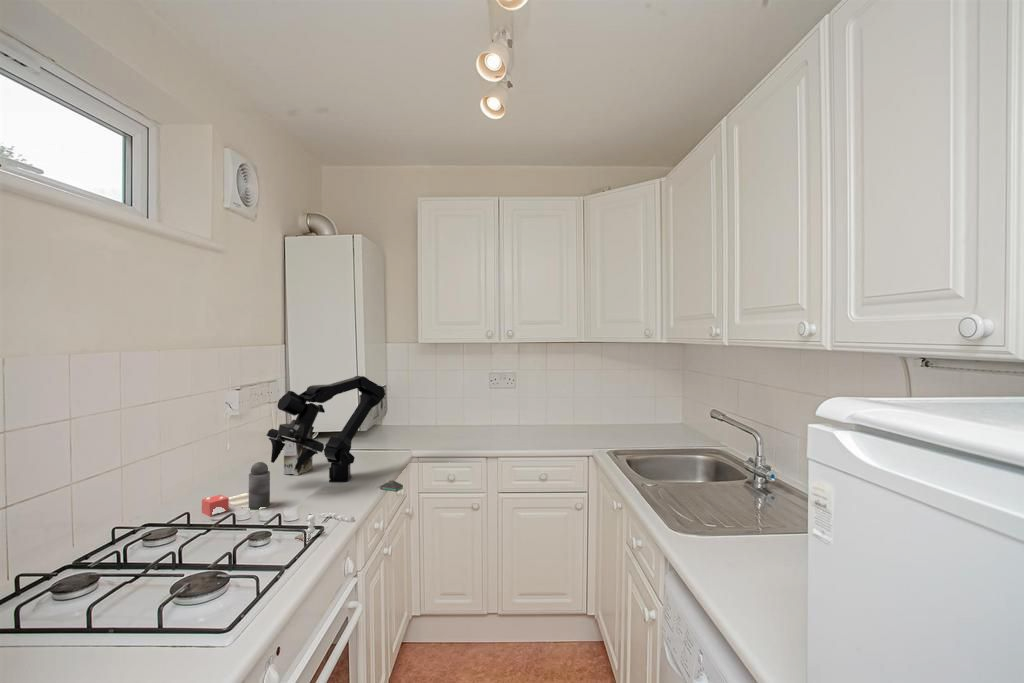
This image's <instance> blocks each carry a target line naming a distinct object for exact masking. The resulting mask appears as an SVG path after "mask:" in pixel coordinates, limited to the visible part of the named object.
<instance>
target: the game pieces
mask: <svg viewBox="0 0 1024 683" xmlns="http://www.w3.org/2000/svg"><path fill="white" fill-rule="evenodd" d="M374 488H377V489H380V490H383V491H387V492H388V491H389V492H396V493H398V492H399V491H401V490H403V489H404V484H402V483H400V482H397V481H396V480H393V479H392V480H389V481H388V482H384V483H383V484H381V485H375V486H374ZM319 516H321V517H320V518H323V517H322V516H330V517H335V516H336V517H335V518H336V520H337V519H339V520H338V521H340V520H341V521H342V522H348V523H353V522H354V521H355V516H352V515H350V516H348V517H347V516H346V515H345V514H343V515H338V516H337V513H336V512H335V513H334V512H329V513H328V512H327V511H326V512H323V513H320V514H319V515H318V517H319ZM315 520H316V516H315V515H313V514H310V515H309V516H307V521H308V522H307V527H308V528H307V530H306V531H307V532H308V533H310V534H311V533H313V532H314V531H315V528H316V527H315V526H316V522H315ZM303 533H304V532H302V533H301V534H298V535H297V536H295V537H294V540H295V539H299V540H301V541H300V542H304V541H303V539H304V537H303ZM310 534H308V538H307V539H308V540H309V539H310V538H311V535H310ZM299 540H298V541H299ZM309 541H310V540H309Z"/></svg>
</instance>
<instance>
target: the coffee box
mask: <svg viewBox="0 0 1024 683" xmlns="http://www.w3.org/2000/svg"><path fill="white" fill-rule="evenodd" d="M313 436H314V429H313V430H310V432H309V434H308V436H307V438H309V439H313V440H314V437H313ZM293 439H295V438H293ZM291 440H292V439H291ZM298 441H301V440H300V439H298ZM283 443H285V446H284V447H283V475H285V474H294V475H293V476H296V475H297V476H300V475H302V474H304V473H303V472H305V473H307V472H309V471H311V470H313V456H314V455H313V456H312V457H311V458H309V459H308V460H307V461H306V462H305V463H304V464H303V465H302V466H301V467H300V468H299V469H298V470H296V469H295V466H296V464H297V461H298V459H299V457H300V455H301V453H302V447H304V448H306V446H304V445H301V444H297V443H293V442H290V441H285V442H283ZM310 469H311V470H310ZM308 470H309V471H308ZM306 471H307V472H306ZM301 473H302V474H301ZM299 474H300V475H299Z"/></svg>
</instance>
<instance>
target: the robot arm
mask: <svg viewBox="0 0 1024 683" xmlns="http://www.w3.org/2000/svg"><path fill="white" fill-rule="evenodd" d="M306 388H307V389H306V390H305V391H303V392H302V393H300V394H297V392H295V391H293V390H287V392H286V394H284V395H283V396H282V397H280V398H279V399H278V402H277V409H278V410H280V411H282V412H284V413H287V414H289V415H291V416H294V417H295V416H296V418H295V419H292V420H291V422H290V423H281V424H279V425H278V429H276V428H271V429H269V430H268V431H267V433H266V437H268V441H270V443H271V446H272V447H271V458H270V459H271V460H270V462H271V463H275V462H276V461H277V459H278V457H279V456H280V454H281V452H282V450H284V446H285V443H284V442H285V441H290V442H293V443H297V444H301V445H304V446H306V448H304V447H302V453H301V455H300V457H299V459H298V461H297V464H296V466H295V469H296V470H298V469H299V468H300V467H301V466H302V465H303V464H304V463H305V462H306V461H307V460H308V459H309V458H311V457H312V456H315V455H318V454H319V453H324V454H323V455H324V457H325V458H326V459H327V460H326V461H327V463H330V467H329V468H328V469H329V470H328V473H329V474H328V479H329V480H328V482H329V483H347V482H348V481H349V480H350V479H351V478H352V477H353V475H351V465H352V464H354V462H355V456H354V455H353V454H352V453H351V452H350V451H351V449H352V440H353V439H354V437H355V436H356V434H357V432H358V431H359V429H360V428H361V426H362V424H363V423H364V421H365V420H366V418H367V416H369V413H370V412H371V410H372V409H373V408H374V407H375V406H377V405H378V404H380V403H381V401H382V400H383V399H384V398H385V396H386V391H385V388H384V386H382V385H379V384H378V383H376V382H373V381H372V380H369V378H367V377H366V376H363V375H355V376H353V377H350V378H346V379H344V380H339V381H336V382H333V383H329V384H313V385H310V386H308V387H306ZM355 389H357V390H358V392H360V393H361V394H360V397H359V399H360V400H359V403H358V405H357V406H356V408H355V409H354V410H353V413H352V414H351V416H350V417H349V419H348V420H347V421H346V424H345V425H344V426H343V428H342V430H341V432H340V433H339V434H338V435H337V436H335V435H331V436H330V437H329V439H328V441H327V442H326V443H325V444H324V443H323V442H320V441H318V440H317V439H316V440H315V439H314V438H313V439H309V438H307V436H308V434H309V432H310V430H313V431H314V428H315V427H314V426H313V425H314V423H315V421H316V418H317V417H318V414H319V413H322V414H324V413H326V411H325V408H324V405H323V404H324V403H326V402H328V401H329V400H332V399H333V397H335V396H336V395H339V394H342V393H346V392H349V391H352V390H355ZM307 402H308V403H307ZM316 403H319V404H316ZM293 438H295V439H293ZM291 439H292V440H291ZM298 439H300V440H301V441H298ZM312 458H313V457H312Z"/></svg>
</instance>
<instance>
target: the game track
mask: <svg viewBox="0 0 1024 683" xmlns="http://www.w3.org/2000/svg"><path fill="white" fill-rule="evenodd" d="M228 498H229V504H231V505H233V506H234V507H237V506H241V507H243V508H244V507H249V492H245V493H241V494H237V495H234V496H230V497H228ZM274 506H277V504H276V503H273V502H271V501H270V506H268V508H270V507H274ZM258 511H259V510H251V509H250V512H249V513H255V512H258Z"/></svg>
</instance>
